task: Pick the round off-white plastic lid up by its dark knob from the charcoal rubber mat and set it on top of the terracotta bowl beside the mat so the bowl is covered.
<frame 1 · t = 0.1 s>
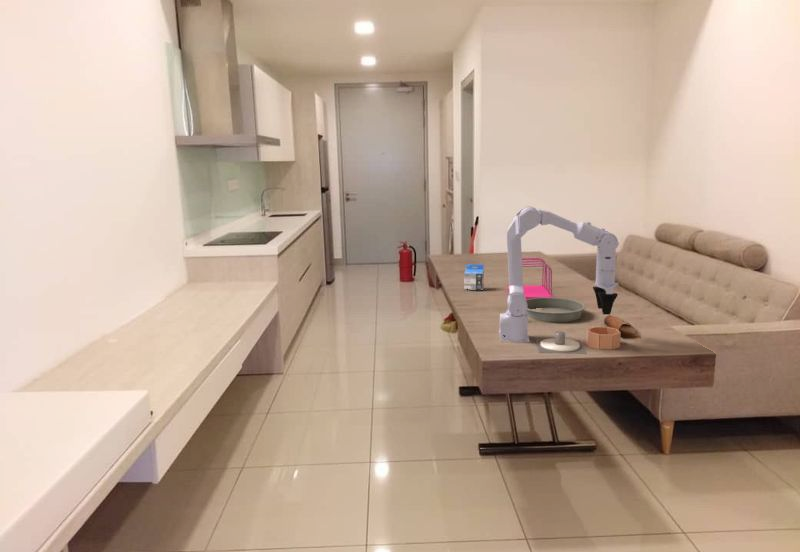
hand: (603, 311, 180), 10 cm above the table, tool pointing down, fingers open, 7 cm apart
bowl: (602, 345, 177), on the table
lid: (559, 346, 176), on the table, touching mat
sunglasses case: (621, 332, 192), on the table
file sorter: (529, 295, 252), on the table
mat: (559, 347, 176), on the table
cake pan: (551, 316, 216), on the table
label tape box: (474, 290, 264), on the table
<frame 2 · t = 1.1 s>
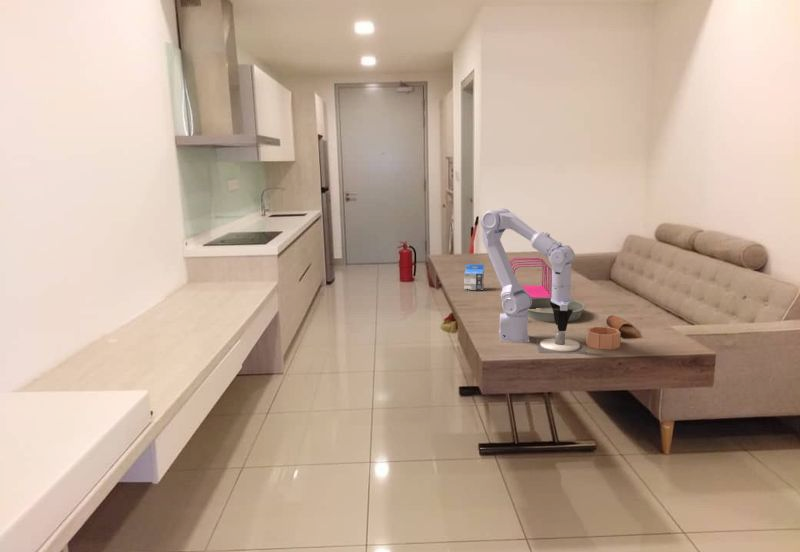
hand: (560, 327, 175), 7 cm above the table, tool pointing down, fingers open, 7 cm apart
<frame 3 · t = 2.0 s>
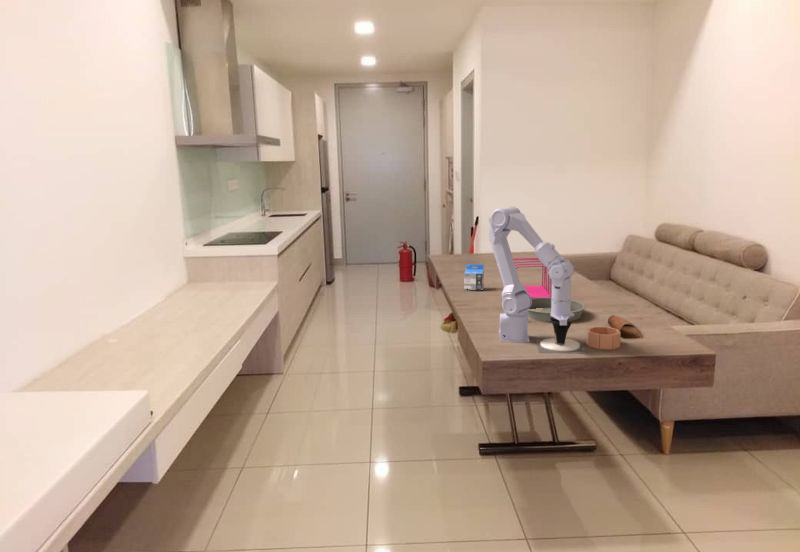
hand: (559, 341, 176), 2 cm above the table, tool pointing down, fingers closed on lid, 3 cm apart
lid: (559, 346, 176), on the table, touching gripper, mat
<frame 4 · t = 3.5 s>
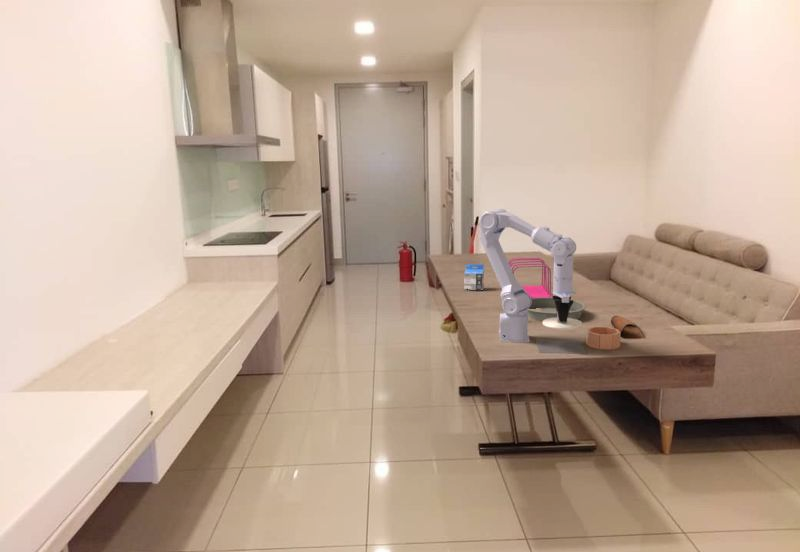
hand: (562, 319, 175), 9 cm above the table, tool pointing down, fingers closed on lid, 3 cm apart
lid: (562, 324, 175), point 7 cm above the table, touching gripper
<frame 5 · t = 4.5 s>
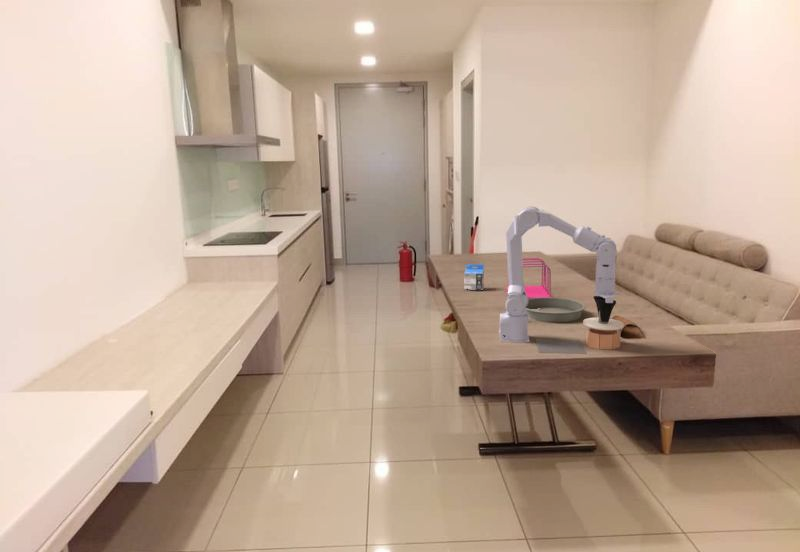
hand: (603, 320, 175), 8 cm above the table, tool pointing down, fingers closed on lid, 3 cm apart
lid: (603, 324, 175), point 7 cm above the table, touching gripper
when the fingers open (8 cm above the table, at t = 4.9 s): lid drops 1 cm, resting on bowl.
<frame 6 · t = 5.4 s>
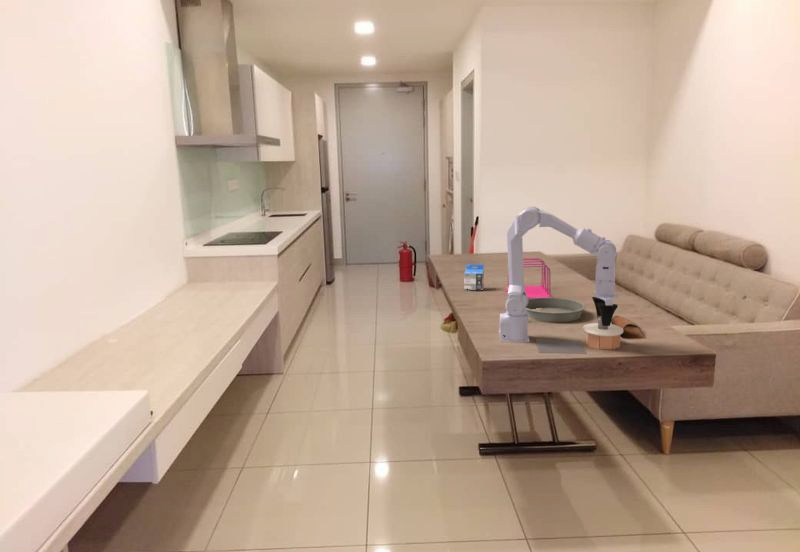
hand: (603, 322, 175), 8 cm above the table, tool pointing down, fingers open, 7 cm apart
bowl: (602, 345, 177), on the table, touching lid
lid: (602, 330, 176), point 5 cm above the table, touching bowl
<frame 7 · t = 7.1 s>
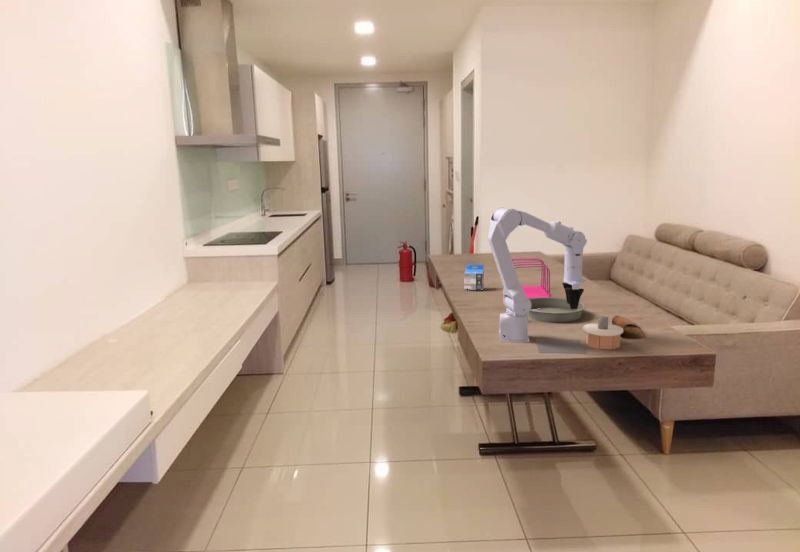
hand: (572, 306, 188), 10 cm above the table, tool pointing down, fingers open, 7 cm apart
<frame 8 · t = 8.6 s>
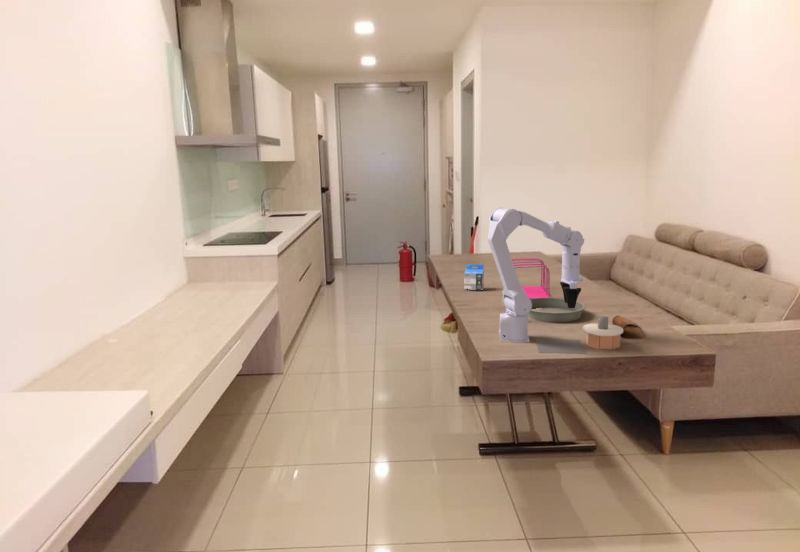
hand: (569, 305, 189), 10 cm above the table, tool pointing down, fingers open, 7 cm apart
at the end: lid 0.2 cm from the bowl (horizontally); lid 0.2 cm off-centre on the bowl, point 5.0 cm above the bowl's base; the gripper is holding nothing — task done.
